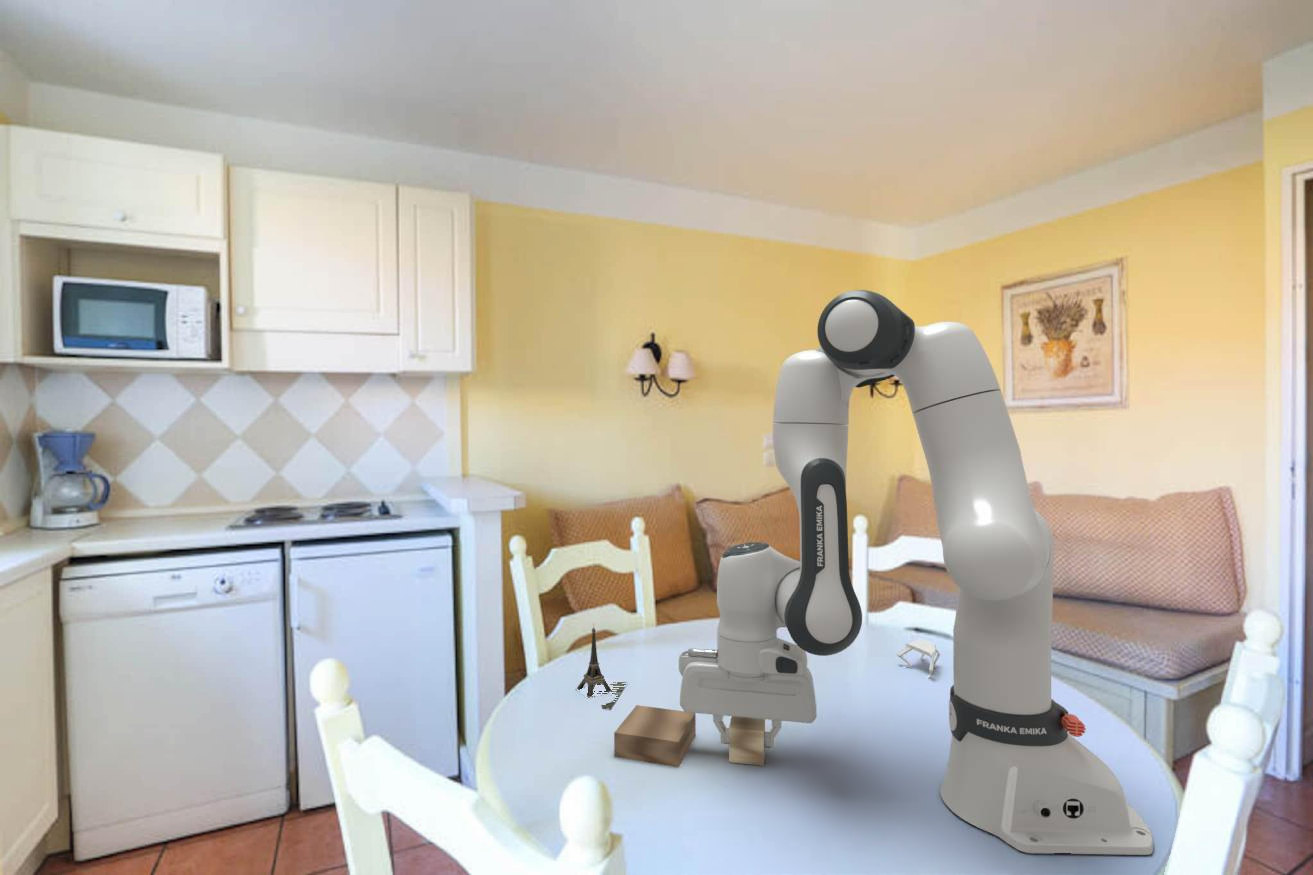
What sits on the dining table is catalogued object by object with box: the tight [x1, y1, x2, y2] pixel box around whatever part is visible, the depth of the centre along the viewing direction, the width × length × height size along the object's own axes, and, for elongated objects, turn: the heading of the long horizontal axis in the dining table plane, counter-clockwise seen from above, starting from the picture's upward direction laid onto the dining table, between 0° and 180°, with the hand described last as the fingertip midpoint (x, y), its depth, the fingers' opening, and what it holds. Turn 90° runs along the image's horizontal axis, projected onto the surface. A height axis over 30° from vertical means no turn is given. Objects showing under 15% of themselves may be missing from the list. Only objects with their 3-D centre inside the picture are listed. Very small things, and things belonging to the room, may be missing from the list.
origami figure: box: [895, 637, 942, 680], centre depth 127 cm, size 12×8×5 cm
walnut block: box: [613, 704, 697, 768], centre depth 96 cm, size 10×10×4 cm
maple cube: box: [728, 716, 766, 767], centre depth 93 cm, size 5×5×5 cm
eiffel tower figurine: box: [576, 622, 627, 710], centre depth 117 cm, size 15×10×13 cm
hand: (747, 744), depth 93 cm, fingers closed on maple cube, 5 cm apart
